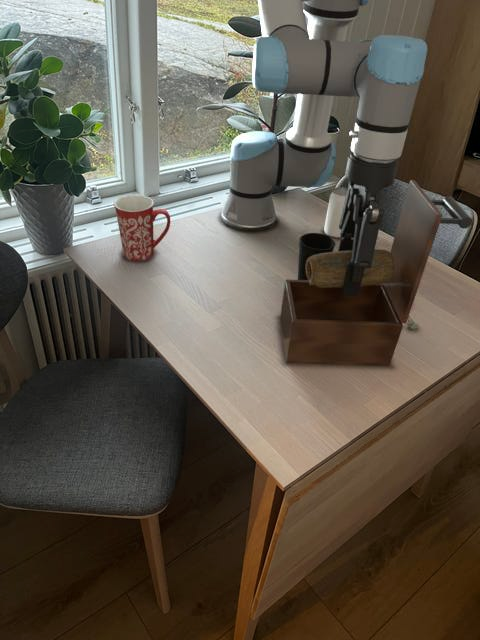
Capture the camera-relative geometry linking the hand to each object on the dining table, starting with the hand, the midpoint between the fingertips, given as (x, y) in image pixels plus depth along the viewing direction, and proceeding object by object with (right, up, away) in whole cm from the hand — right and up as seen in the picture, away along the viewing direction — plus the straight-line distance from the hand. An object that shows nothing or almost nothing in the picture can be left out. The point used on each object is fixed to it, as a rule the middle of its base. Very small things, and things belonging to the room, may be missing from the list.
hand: (345, 282), depth 86 cm
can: (+7, +17, +46) cm, 50 cm away
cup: (-3, +1, +24) cm, 24 cm away
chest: (-1, -11, +8) cm, 14 cm away
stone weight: (0, 0, 0) cm, 0 cm away
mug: (-42, +9, +31) cm, 53 cm away
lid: (+10, +5, -4) cm, 11 cm away
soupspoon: (+14, -2, +21) cm, 26 cm away
